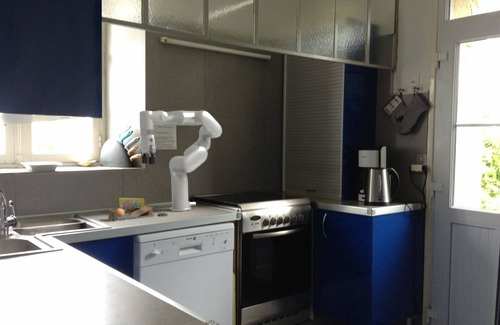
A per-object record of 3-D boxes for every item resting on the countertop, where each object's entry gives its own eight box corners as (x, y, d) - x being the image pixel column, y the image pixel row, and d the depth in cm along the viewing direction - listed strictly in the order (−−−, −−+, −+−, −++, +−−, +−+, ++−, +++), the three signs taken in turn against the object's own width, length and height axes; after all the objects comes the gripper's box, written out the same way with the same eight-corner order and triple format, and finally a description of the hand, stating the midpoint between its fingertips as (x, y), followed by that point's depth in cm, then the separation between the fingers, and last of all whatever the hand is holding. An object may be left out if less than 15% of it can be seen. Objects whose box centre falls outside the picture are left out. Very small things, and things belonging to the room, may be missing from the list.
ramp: (146, 214, 262) (146, 205, 261) (153, 216, 254) (153, 206, 254) (108, 218, 249) (108, 209, 249) (114, 221, 242) (113, 211, 241)
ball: (123, 215, 252) (121, 206, 251) (126, 217, 248) (124, 207, 247) (114, 218, 249) (112, 209, 248) (117, 219, 245) (115, 210, 244)
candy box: (119, 212, 272) (118, 198, 272) (121, 211, 274) (120, 197, 274) (143, 213, 267) (142, 198, 267) (145, 212, 269) (144, 198, 269)
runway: (147, 214, 262) (147, 211, 262) (153, 216, 254) (153, 212, 254) (108, 218, 249) (108, 215, 249) (114, 221, 242) (114, 217, 242)
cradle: (163, 214, 259) (163, 212, 259) (167, 215, 255) (167, 213, 255) (157, 215, 257) (157, 213, 257) (161, 216, 253) (161, 214, 253)
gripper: (159, 132, 255) (161, 163, 256) (147, 133, 269) (148, 163, 270) (147, 132, 251) (148, 164, 252) (134, 133, 265) (135, 163, 266)
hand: (148, 163), depth 261 cm, fingers open, 9 cm apart
